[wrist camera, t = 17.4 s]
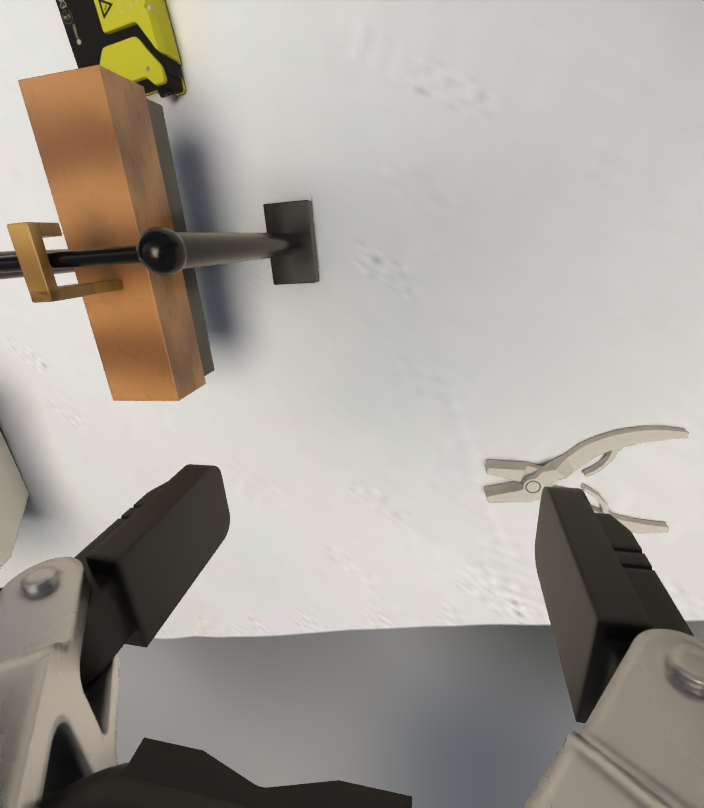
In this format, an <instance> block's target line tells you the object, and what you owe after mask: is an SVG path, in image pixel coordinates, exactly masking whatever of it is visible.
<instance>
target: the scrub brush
mask: <svg viewBox="0 0 704 808" xmlns="http://www.w3.org/2000/svg"><path fill="white" fill-rule="evenodd" d="M18 82H19V85H20V89H21V92H22V95H23V99H24V102H25V106H26V109H27V112H28V116H29V119H30V122H31V126H32V129H33V132H34V136H35V139H36V142H37V146H38V149H39V153H40V156H41V159H42V163H43V166H44V169H45V173H46V176H47V179H48V183H49V186H50V189H51V193H52V196H53V200H54V203H55V206H56V210H57V213H58V216H59V220H60V223H61V226H62V230H63V233H64V236H65V240H66V243H67V246H68V250H69V251H70V250H82V249H94V248H106V247H118V246H130V245H137V241H138V238H139V236H140V235H141V234H142V233H143V232H144V231H145V230H147V229H148V228H151V227H157V226H160V227H166V228H169V229H171V230H173V231H174V232H187V229H186V224H185V219H184V214H183V209H182V204H181V199H180V194H179V189H178V184H177V179H176V174H175V169H174V164H173V159H172V154H171V149H170V144H169V139H168V134H167V129H166V124H165V118H164V113H163V108H162V106H161V105H159V104H157V103H155V102H153V101H151V100H148V99H146V95H145V90H144V87H143V86H141V85H139V84H137V83H135V82H133V81H131V80H129V79H127V78H125V77H123V76H121V75H119V74H117V73H115V72H113V71H111V70H108V69H106V68H104V67H102V66H100V65H95V66H90V67H85V68H79V69H74V70H69V71H64V72H59V73H53V74H48V75H43V76H38V77H32V78H27V79H22V80H18ZM7 228H8V231H9V234H10V237H11V240H12V243H13V246H14V248H15V251H16V254H17V257H18V260H19V263H20V266H21V269H22V272H23V275H24V278H25V281H26V284H27V287H28V289H29V292H30V295H31V298H32V301H33V302H35V303H36V302H53V301H59V300H65V299H70V298H76V297H83V300H84V304H85V307H86V310H87V314H88V317H89V320H90V324H91V327H92V330H93V334H94V337H95V340H96V344H97V347H98V351H99V354H100V357H101V361H102V364H103V367H104V371H105V374H106V377H107V381H108V384H109V387H110V391H111V394H112V397H113V400H114V401H179V400H181V399H182V398H184V397H185V396H187V395H189V394H190V393H192V392H193V391H195V390H197V389H198V388H200V387H201V386H203V385H204V384H206V382H205V377H204V376H206V375H207V374H209V373H211V372H212V371H214V365H213V360H212V355H211V350H210V345H209V340H208V335H207V330H206V325H205V320H204V315H203V310H202V305H201V300H200V295H199V289H198V284H197V279H196V274H195V269H194V268H188V269H182V270H181V271H180V272H178V273H176V274H174V275H171V276H160V275H156V274H154V273H152V272H150V271H149V270H147V269H146V268H145V267H144V266H143V265H142V263H133V264H119V265H105V266H91V267H78V268H74V270H75V273H76V277H77V280H78V283H79V284H72V285H65V286H57V284H56V281H55V277H54V274H53V271H52V268H51V265H50V262H49V258H48V255H47V252H46V249H45V246H44V243H43V239H42V238H44V237H55V236H62V233H61V230H60V227H59V224H58V223H40V222H37V223H35V222H23V223H14V224H7Z"/></svg>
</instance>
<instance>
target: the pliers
mask: <svg viewBox="0 0 704 808" xmlns="http://www.w3.org/2000/svg"><path fill="white" fill-rule="evenodd" d="M688 434H689V432H687V431H686V430H685V429H682V428H674V427H663V426H642V427H632V428H626V429H620V430H616V431H612V432H608V433H604V434H601V435H598V436H595V437H592V438H590V439H588V440H586V441H584V442H581V443H579V444H578V445H576V446H575V447H573V448H572V449H571V450H569V451H568V452H567V453H565V454H564V455H562V456H559V457H557V458H555V459H553V460H551V461H550V462H548V463H547V464H546V465H544V466H541V465H537V464H532V463H528V462H518V461H502V460H487V461H486V464H485V469H486V474H489V475H493V476H497V477H501V478H505V479H509V480H514V482H508V483H503V484H498V485H493V486H488V487H485V493H486V498H487V502H488V503H496V502H530V501H536V500H541V494H542V490H543V488H544V487H559V486H555V485H553V483H554V481H556V480H561V479H566V478H567V477H568V476H569V475H571V474H572V473H573V472H574V471H575V470H577V469H578V468H580V467H581V466H583V465H585V464H586V463H588V462H589V461H591V460H592V459H594V458H596V457H597V456H599V455H601V454H603V453H606V455H605V456H604V457H603V458H602V459H601V460H600V461H599V462H598V463H596V464H595V465H593V466H591V467H589V468H587V469H585V470H583V473H584V475H585V476H586V477H588V476H590V475H593V474H595V473H597V472H599V471H600V470H602V469H604V468H605V467H606V466H607V465H608V464H609V463H611V462H612V461H613V459H614V458H615V456H616V455H617V454H618V452H619V451H620V450H621V449H622V448H624V447H626V446H630V445H635V444H640V443H645V442H652V441H660V440H669V439H682V438H688ZM519 482H522V484H521V483H519ZM581 487H582V489H583V490H584V491H585V492H587V493H589V494H591V495H592V496H593V497H595V498H596V499H597V500H598V501H599V503H600V509H598V508H596V507H594V506H592V505H591V507H592V509H593V510H594V512H595V513H606V514H611V515H612V516H613V517H614V518H616V519H617V520H618V521H619V522H620V523H622V524H623V525H624V526H625V527H627V528H628V529H629V530H630V531H631V532H632V533H662V532H668V530H669V527H668V526H667V524H666V523H665V522H657V521H649V520H642V519H636V518H630V517H626V516H621V515H618V514H614V513H611V512H610V511H609V510H608V508H607V505H606V504H605V502H604V500H603V499H602V498H601V496H600V495H599V494H598V493H597V492H596V491H594V490H593V489H591V488H590V487H588V486H586V485H584V484H582V485H581ZM562 488H563V487H562Z"/></svg>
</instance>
